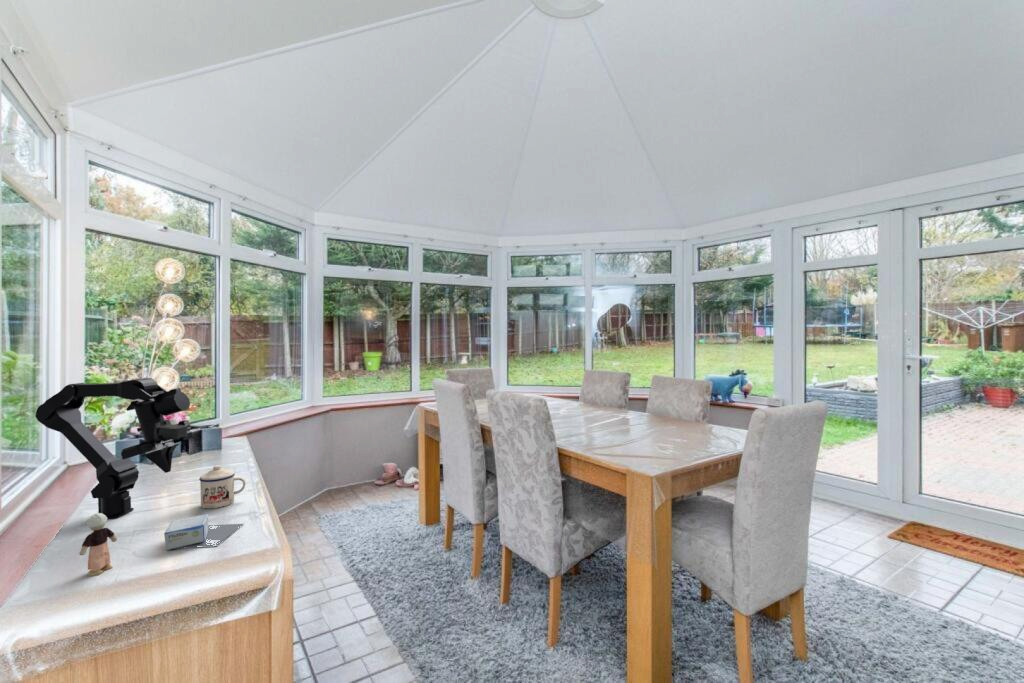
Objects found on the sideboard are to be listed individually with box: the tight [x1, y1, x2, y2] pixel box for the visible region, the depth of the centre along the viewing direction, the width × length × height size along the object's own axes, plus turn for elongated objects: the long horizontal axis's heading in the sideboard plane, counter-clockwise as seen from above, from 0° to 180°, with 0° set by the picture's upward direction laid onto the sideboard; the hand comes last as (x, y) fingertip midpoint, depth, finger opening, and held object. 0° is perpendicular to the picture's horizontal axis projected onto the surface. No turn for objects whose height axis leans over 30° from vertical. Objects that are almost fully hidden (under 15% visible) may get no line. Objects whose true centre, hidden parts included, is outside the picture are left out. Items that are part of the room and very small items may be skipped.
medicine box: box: [163, 513, 209, 551], centre depth 115 cm, size 8×4×9 cm
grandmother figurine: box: [78, 513, 118, 577], centre depth 100 cm, size 8×4×13 cm, turn 5°
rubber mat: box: [177, 523, 244, 549], centre depth 118 cm, size 9×13×1 cm
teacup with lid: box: [199, 464, 247, 509], centre depth 142 cm, size 12×9×12 cm
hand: (168, 472), depth 133 cm, fingers closed
